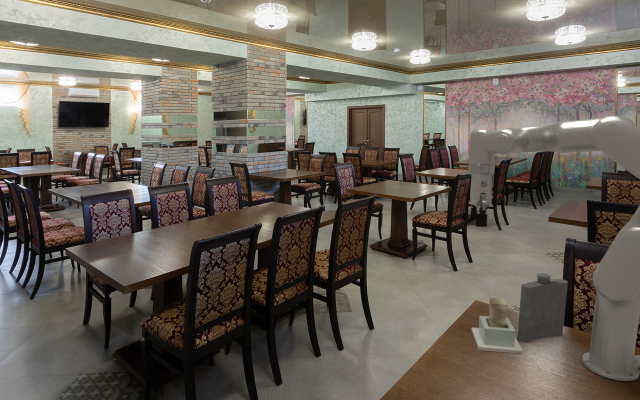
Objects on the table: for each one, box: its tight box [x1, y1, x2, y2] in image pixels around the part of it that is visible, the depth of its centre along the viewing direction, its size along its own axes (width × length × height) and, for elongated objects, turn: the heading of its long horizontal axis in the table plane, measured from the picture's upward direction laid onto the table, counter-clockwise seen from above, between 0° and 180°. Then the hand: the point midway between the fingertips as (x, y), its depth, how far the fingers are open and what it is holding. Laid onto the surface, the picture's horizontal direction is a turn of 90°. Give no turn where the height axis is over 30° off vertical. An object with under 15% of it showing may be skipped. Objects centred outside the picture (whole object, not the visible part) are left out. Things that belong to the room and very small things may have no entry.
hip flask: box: [516, 272, 569, 343], centre depth 124 cm, size 16×4×20 cm, turn 105°
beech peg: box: [488, 297, 508, 328], centre depth 122 cm, size 4×4×12 cm
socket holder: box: [471, 315, 524, 355], centre depth 123 cm, size 12×12×6 cm
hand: (478, 223), depth 129 cm, fingers open, 9 cm apart
